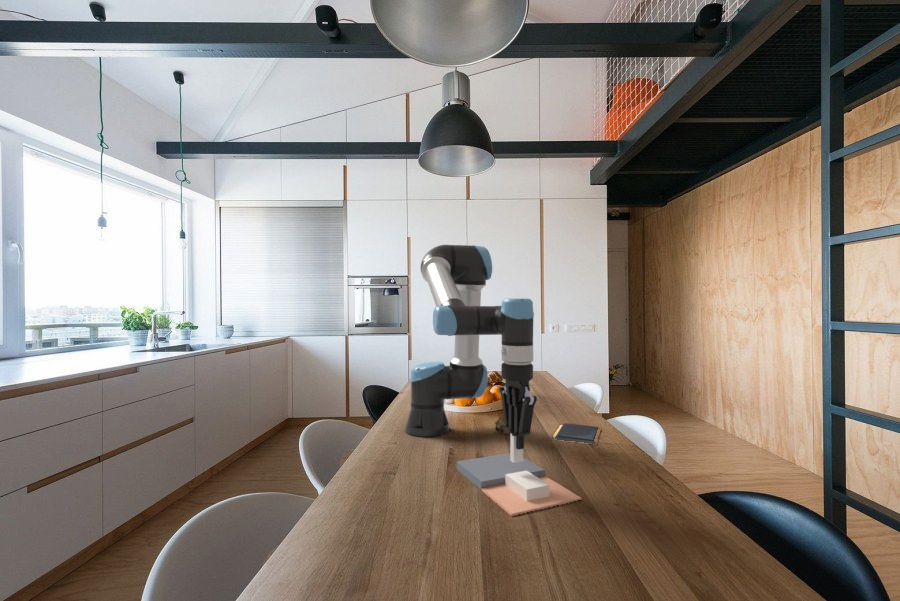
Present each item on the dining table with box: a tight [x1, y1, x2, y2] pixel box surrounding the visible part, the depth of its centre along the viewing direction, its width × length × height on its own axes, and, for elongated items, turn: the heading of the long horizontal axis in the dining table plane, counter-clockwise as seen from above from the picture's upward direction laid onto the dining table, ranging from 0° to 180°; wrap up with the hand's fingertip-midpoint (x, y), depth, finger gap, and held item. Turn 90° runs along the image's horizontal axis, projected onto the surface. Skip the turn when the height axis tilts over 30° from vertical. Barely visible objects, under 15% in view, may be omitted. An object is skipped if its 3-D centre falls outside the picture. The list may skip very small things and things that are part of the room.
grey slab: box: [456, 452, 546, 491], centre depth 106 cm, size 14×18×2 cm
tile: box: [505, 471, 550, 501], centre depth 95 cm, size 9×6×2 cm, turn 23°
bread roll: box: [494, 414, 510, 436], centre depth 143 cm, size 10×10×8 cm
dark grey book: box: [550, 422, 601, 444], centre depth 140 cm, size 20×2×15 cm
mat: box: [481, 475, 582, 517], centre depth 93 cm, size 13×18×1 cm
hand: (516, 460), depth 99 cm, fingers closed
